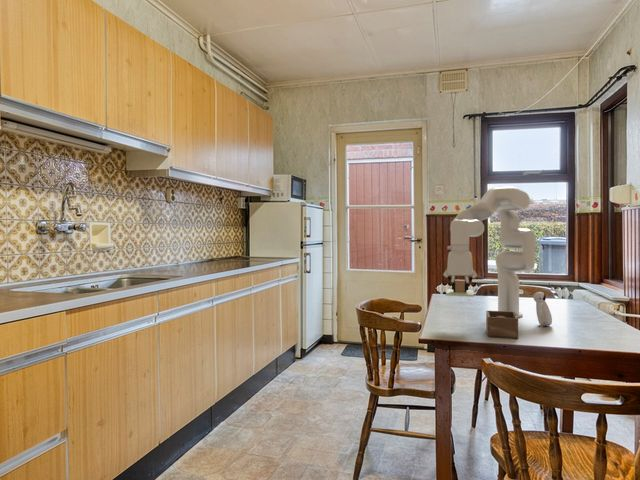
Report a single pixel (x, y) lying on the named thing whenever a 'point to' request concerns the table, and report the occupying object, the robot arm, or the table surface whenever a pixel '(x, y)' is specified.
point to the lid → (460, 290)
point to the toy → (542, 309)
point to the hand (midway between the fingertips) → (460, 291)
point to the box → (502, 324)
